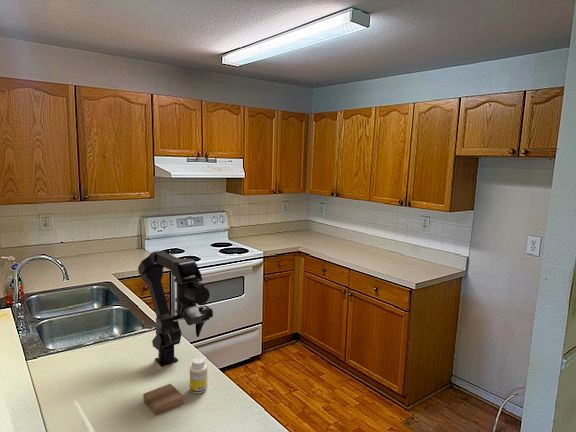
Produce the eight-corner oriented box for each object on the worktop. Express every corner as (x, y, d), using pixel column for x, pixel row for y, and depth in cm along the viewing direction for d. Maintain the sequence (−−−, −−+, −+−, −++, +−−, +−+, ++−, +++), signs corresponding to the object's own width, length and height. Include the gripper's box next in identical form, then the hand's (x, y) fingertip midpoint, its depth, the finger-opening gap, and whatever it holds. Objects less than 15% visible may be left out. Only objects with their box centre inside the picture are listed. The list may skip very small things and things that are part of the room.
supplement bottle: (196, 383, 135) (196, 354, 133) (210, 387, 132) (210, 358, 131) (186, 391, 130) (186, 362, 128) (200, 396, 127) (200, 366, 126)
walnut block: (143, 402, 124) (143, 393, 123) (170, 392, 130) (170, 383, 129) (156, 416, 117) (155, 407, 117) (183, 405, 123) (183, 396, 123)
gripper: (168, 309, 124) (168, 356, 126) (221, 298, 135) (220, 341, 138) (155, 299, 132) (155, 343, 134) (205, 289, 144) (205, 330, 146)
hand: (185, 339), depth 138 cm, fingers open, 9 cm apart
